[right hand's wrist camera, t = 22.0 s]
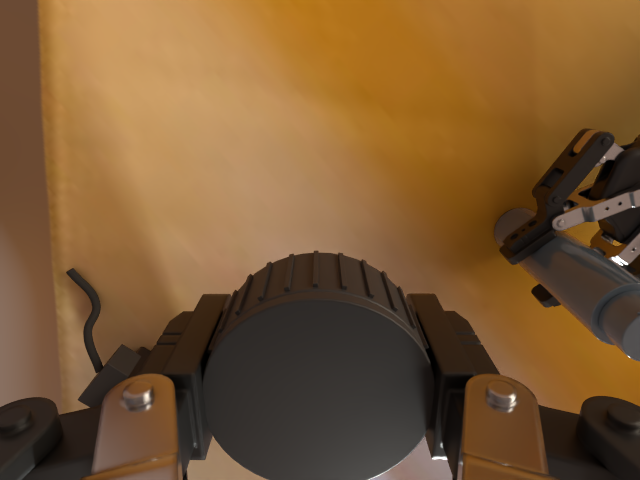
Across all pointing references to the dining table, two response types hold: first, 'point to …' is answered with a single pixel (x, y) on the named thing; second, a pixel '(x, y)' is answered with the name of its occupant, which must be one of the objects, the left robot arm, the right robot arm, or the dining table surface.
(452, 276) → the dining table surface
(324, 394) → the lid
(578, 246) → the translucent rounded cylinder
